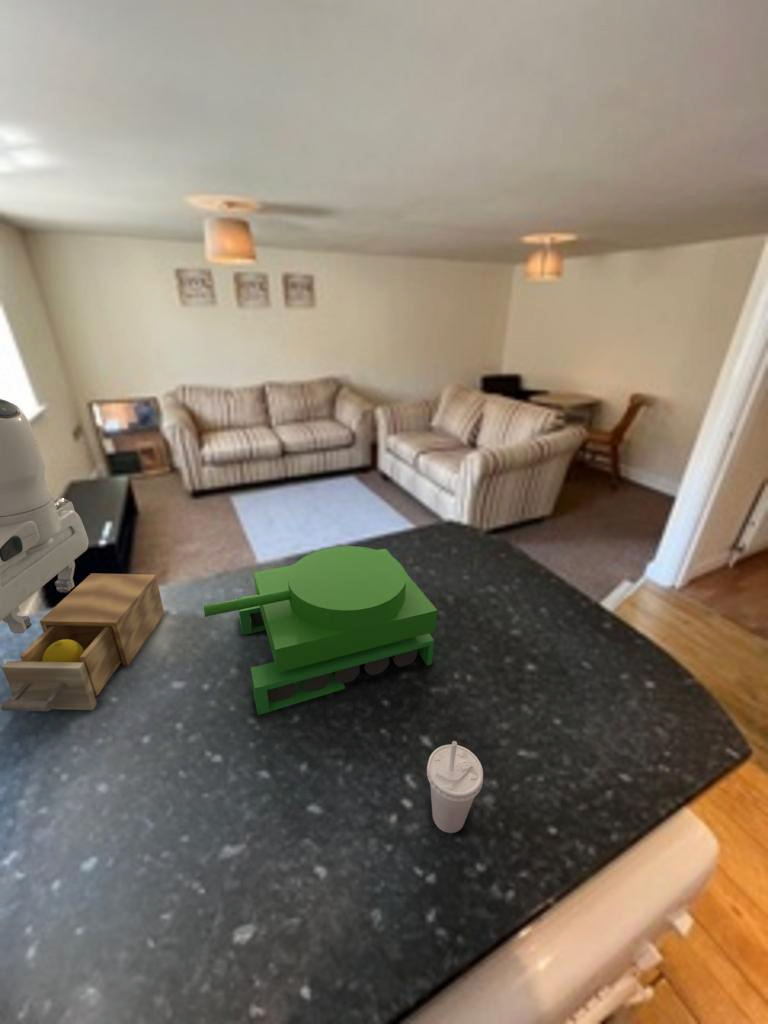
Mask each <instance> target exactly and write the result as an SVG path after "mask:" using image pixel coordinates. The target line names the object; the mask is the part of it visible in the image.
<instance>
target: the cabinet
mask: <svg viewBox="0 0 768 1024" xmlns="http://www.w3.org/2000/svg"><path fill="white" fill-rule="evenodd" d="M164 615H165V611H164V605H163V601H162V597H161V592H160V588H159V582H158V578H157V574H145V573H144V574H141V573H140V574H138V573H137V574H136V573H134V574H133V573H97V572H96V573H95V572H94V573H93V572H92V573H90V574H89V575H88V576H86V578H84V579H83V581H81V582H80V583H79V584H78V585H77V586H76V587H74V589H72V591H70V592H68V593H67V595H66V596H65V597H64V598H62V600H61V601H60V602H59V603H57V604H56V605H55V606H54V607H53V608H52V609H51V610H49V612H47V613H46V614H45V615H44V616H43V617H42V618H41V619H40V620H39V623H40V624H39V625H40V626H41V629H42V632H43V633H44V632H45V631H46V630H47V629H48V628H49V627H50V626H51V625H72V626H112V627H113V631H114V634H115V638H116V642H117V645H118V649H119V652H120V656H121V660H122V662H121V664H122V666H124V667H128V666H129V665H130V664H131V662H132V661H133V659H134V658H135V656H136V655H137V653H138V652H139V650H141V648H142V646H143V645H144V644H145V642H146V641H147V639H148V638H149V636H150V635H151V634H152V633H153V631H154V629H155V628H156V626H158V624H159V622H160V621H161V620H162V619H163V617H164Z"/></svg>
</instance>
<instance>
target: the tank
mask: <svg viewBox="0 0 768 1024" xmlns="http://www.w3.org/2000/svg"><path fill="white" fill-rule="evenodd" d="M253 579H254V587H255V589H254V590H255V594H251V595H247V596H246V595H245V596H242V597H236V599H230V600H226V601H220V602H215V603H211V604H205V605H203V613H204V617H205V618H206V617H211V616H215V615H221V614H225V613H231V612H235V611H238V618H239V626H240V630H241V635H242V636H245V635H246V636H247V635H249V634H255V633H258V632H262V631H265V632H266V634H267V639H268V642H269V647H270V650H271V651H270V652H271V655H272V659H273V661H271V662H268V663H264V664H259V665H257V666H252V667H250V675H251V684H252V692H253V697H254V702H255V703H254V704H255V708H256V713H257V716H260V715H263V714H266V713H267V714H268V713H270V712H273V711H276V710H279V709H283V708H285V707H289V706H293V705H295V704H300V703H302V702H303V703H304V702H307V701H309V700H312V699H316V698H319V697H323V696H326V695H328V694H332V693H335V692H339V691H342V690H345V689H346V687H345V684H346V683H350V682H353V681H354V680H355V679H357V678H358V676H359V674H360V672H361V667H360V666H361V665H362V667H363V669H364V671H365V672H366V674H368V675H370V676H374V675H377V674H381V673H383V672H384V671H385V670H387V669H388V666H389V665H390V659H391V660H392V661H393V663H394V664H395V666H396V667H400V668H402V667H406V666H410V665H411V664H412V663H414V661H415V660H416V659H417V657H418V655H419V656H420V658H421V659H422V660H423V662H424V664H425V665H426V667H428V666H430V665H433V657H434V648H435V647H434V646H435V639H434V637H432V635H431V634H432V633H436V629H437V619H438V609H437V608H436V607H435V605H434V604H433V603H432V602H431V600H430V599H429V598H428V597H427V596H426V595H425V594H424V592H423V591H422V590H421V589H420V588H419V587H418V585H417V584H416V583H415V581H414V580H413V579H412V578H411V576H410V575H408V573H407V572H406V569H405V568H404V567H403V565H402V564H401V562H399V561H398V560H397V558H395V557H394V556H393V555H392V554H391V553H390V552H389V551H388V549H387V548H381V549H374V548H371V547H366V546H365V547H364V546H357V545H340V546H330V547H327V548H322V549H319V550H316V551H313V552H310V553H308V554H307V555H304V556H303V557H302V558H299V560H297V561H296V562H295V563H294V564H289V565H283V566H278V567H274V568H267V569H263V570H261V569H260V570H257V571H253Z"/></svg>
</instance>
